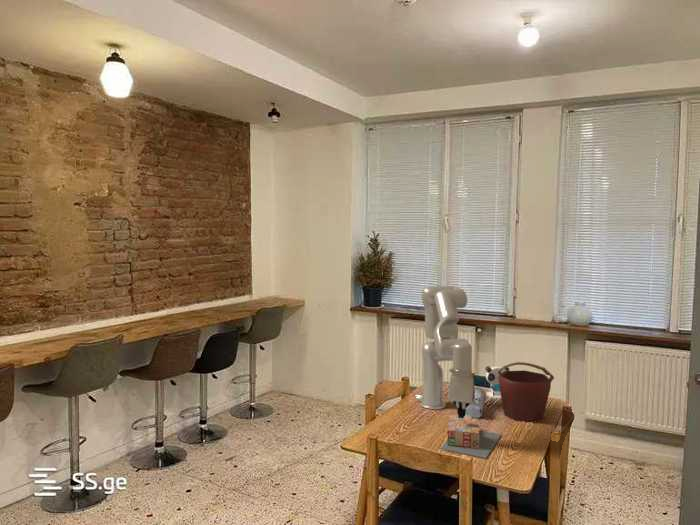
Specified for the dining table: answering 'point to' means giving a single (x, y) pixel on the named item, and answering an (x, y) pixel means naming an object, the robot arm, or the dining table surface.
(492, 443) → the rubber mat
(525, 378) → the bucket
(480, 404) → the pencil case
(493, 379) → the panda figurine
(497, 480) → the dining table surface
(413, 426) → the dining table surface
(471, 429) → the stack of blocks
